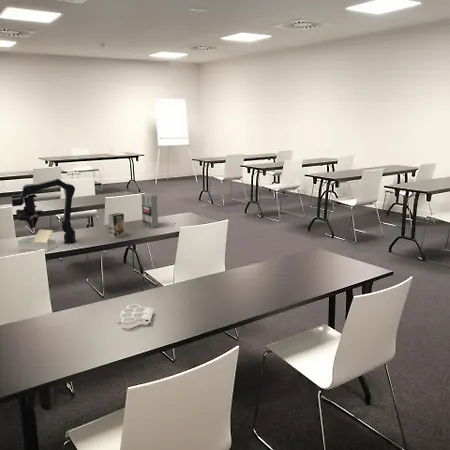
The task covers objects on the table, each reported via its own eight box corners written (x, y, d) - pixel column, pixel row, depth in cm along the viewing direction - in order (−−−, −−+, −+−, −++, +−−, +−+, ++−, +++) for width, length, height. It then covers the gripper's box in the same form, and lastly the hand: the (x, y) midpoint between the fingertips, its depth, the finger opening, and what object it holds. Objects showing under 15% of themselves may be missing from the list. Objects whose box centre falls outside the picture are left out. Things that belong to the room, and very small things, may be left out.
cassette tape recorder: (141, 225, 345) (140, 193, 339) (148, 224, 349) (147, 193, 343) (151, 228, 335) (150, 196, 329) (158, 227, 339) (157, 195, 333)
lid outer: (40, 238, 289) (40, 237, 289) (31, 242, 279) (31, 241, 279) (27, 237, 291) (27, 236, 291) (18, 241, 281) (17, 240, 281)
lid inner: (53, 230, 284) (52, 230, 284) (46, 243, 278) (46, 242, 277) (39, 230, 286) (39, 229, 285) (33, 242, 279) (32, 241, 279)
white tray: (57, 246, 290) (56, 238, 288) (46, 251, 278) (46, 243, 277) (29, 244, 293) (28, 237, 292) (18, 249, 281) (17, 242, 280)
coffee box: (115, 238, 308) (113, 215, 304) (109, 237, 312) (107, 214, 308) (125, 235, 315) (124, 213, 311) (119, 234, 319) (118, 212, 315)
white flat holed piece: (150, 329, 176) (113, 330, 175) (155, 310, 194) (121, 311, 193) (149, 322, 175) (112, 322, 175) (154, 303, 193) (120, 304, 192)
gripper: (27, 201, 291) (30, 224, 295) (9, 207, 273) (12, 231, 277) (42, 201, 289) (45, 225, 293) (25, 207, 271) (28, 232, 275)
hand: (32, 228), depth 284 cm, fingers closed
